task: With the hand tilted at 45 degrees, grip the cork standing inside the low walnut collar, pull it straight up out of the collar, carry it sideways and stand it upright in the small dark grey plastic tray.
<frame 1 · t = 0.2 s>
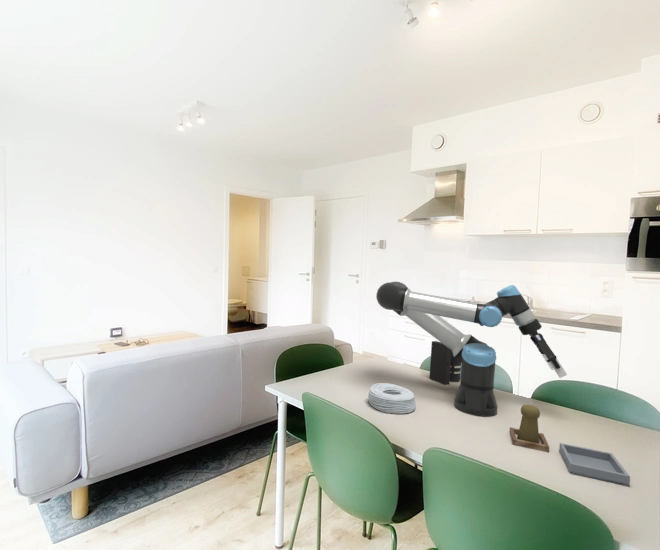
hand: (559, 372, 137), 15 cm above the table, tool tilted 35°, fingers open, 13 cm apart
light fixture: (447, 380, 171), on the table
socket holder: (528, 441, 112), on the table
tray: (591, 467, 98), on the table
cable: (391, 406, 135), on the table
cork: (528, 442, 112), resting in socket holder
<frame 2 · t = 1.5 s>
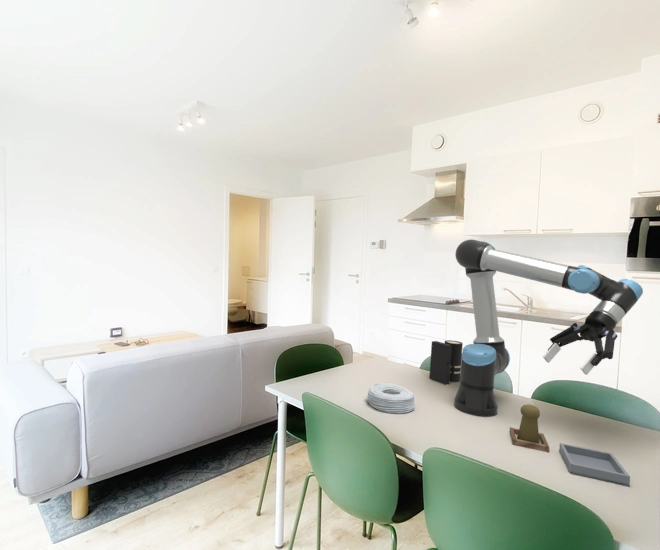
hand: (563, 365, 114), 23 cm above the table, tool tilted 45°, fingers open, 13 cm apart
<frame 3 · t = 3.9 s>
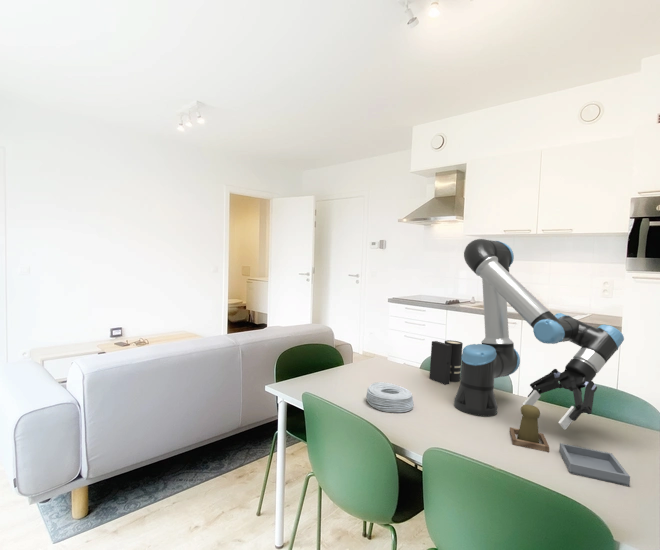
hand: (542, 416, 111), 8 cm above the table, tool tilted 45°, fingers open, 13 cm apart
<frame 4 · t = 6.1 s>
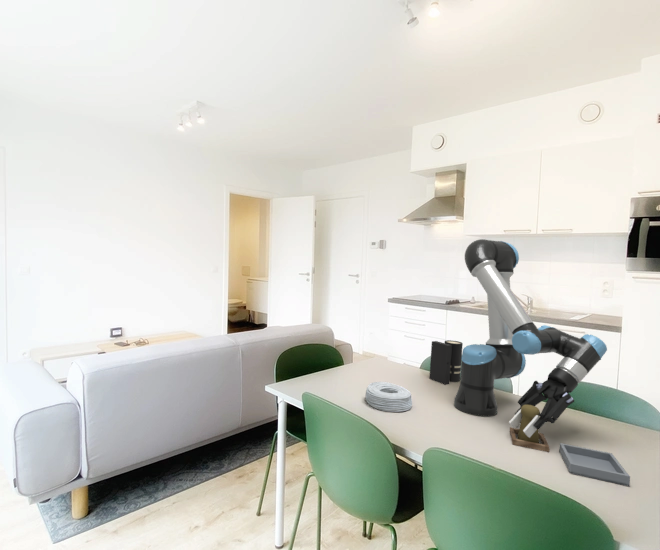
hand: (518, 429, 111), 4 cm above the table, tool tilted 45°, fingers closed on cork, 5 cm apart
cork: (528, 442, 112), resting in socket holder, touching gripper
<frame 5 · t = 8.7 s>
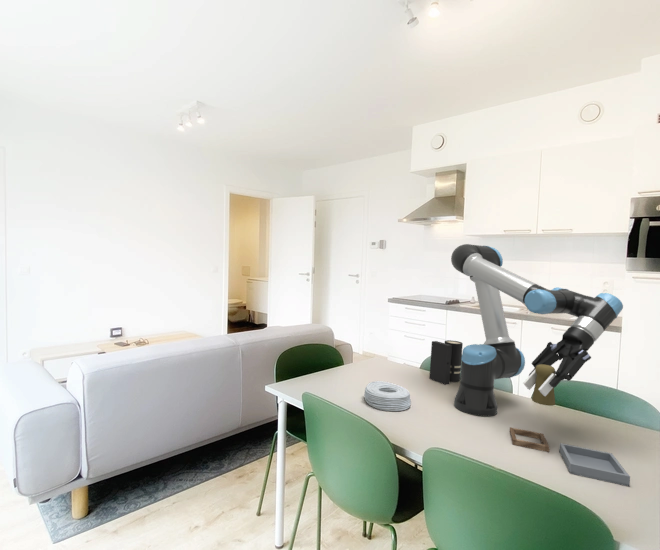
hand: (533, 389, 107), 17 cm above the table, tool tilted 45°, fingers closed on cork, 5 cm apart
cork: (543, 402, 108), point 13 cm above the table, touching gripper
when the fingers open (6 cm above the table, at t = 11.7 s): cork drops 1 cm, resting on tray.
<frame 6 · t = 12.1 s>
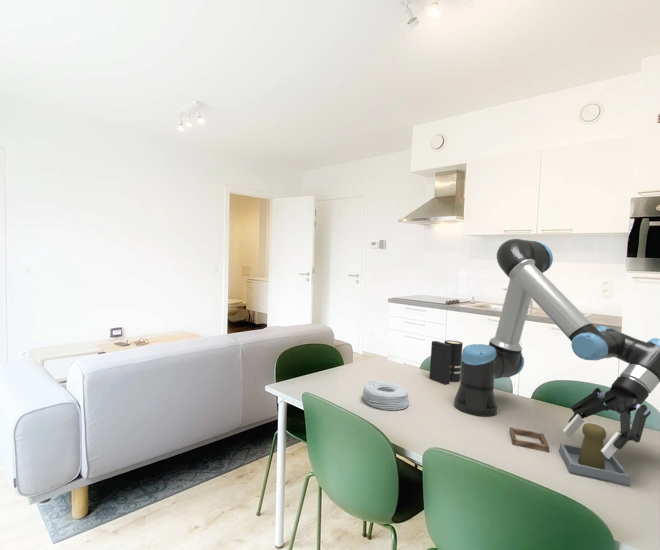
hand: (584, 444, 97), 7 cm above the table, tool tilted 45°, fingers open, 10 cm apart
cork: (591, 466, 98), resting on tray
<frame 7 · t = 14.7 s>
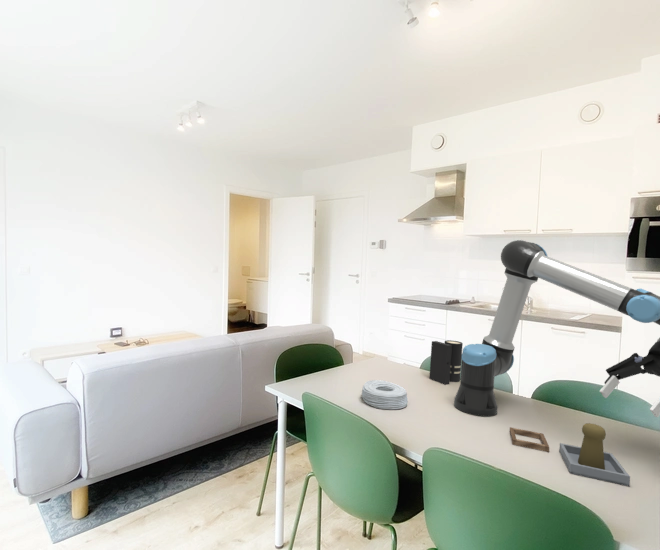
hand: (626, 403, 100), 17 cm above the table, tool tilted 45°, fingers open, 13 cm apart
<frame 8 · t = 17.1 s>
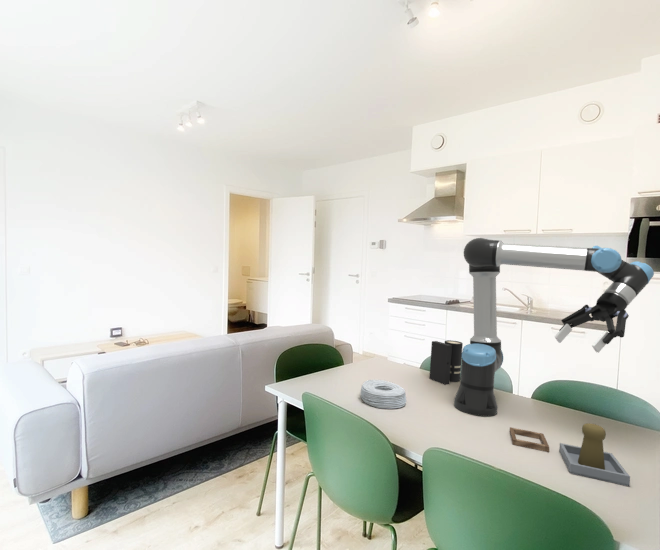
hand: (575, 344, 117), 30 cm above the table, tool tilted 45°, fingers open, 13 cm apart
at the end: cork inside the target area on the tray (0.1 cm from its centre), point 0.3 cm above the tray's base; cork tilted 0°; the gripper is holding nothing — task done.
